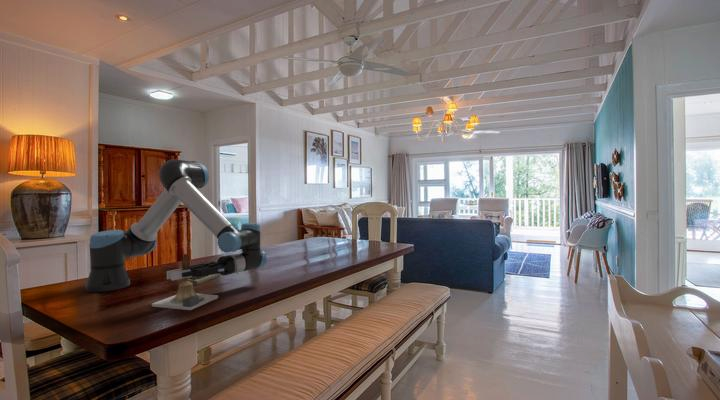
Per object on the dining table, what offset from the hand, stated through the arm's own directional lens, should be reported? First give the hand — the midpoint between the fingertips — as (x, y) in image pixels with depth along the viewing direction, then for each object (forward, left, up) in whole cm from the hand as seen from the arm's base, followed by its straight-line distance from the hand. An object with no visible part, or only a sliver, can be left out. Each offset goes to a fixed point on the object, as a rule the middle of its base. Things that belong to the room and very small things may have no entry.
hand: (169, 275), depth 123 cm
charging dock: (+2, +5, -11) cm, 12 cm away
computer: (-15, +34, -11) cm, 39 cm away
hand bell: (+2, +5, -10) cm, 11 cm away
